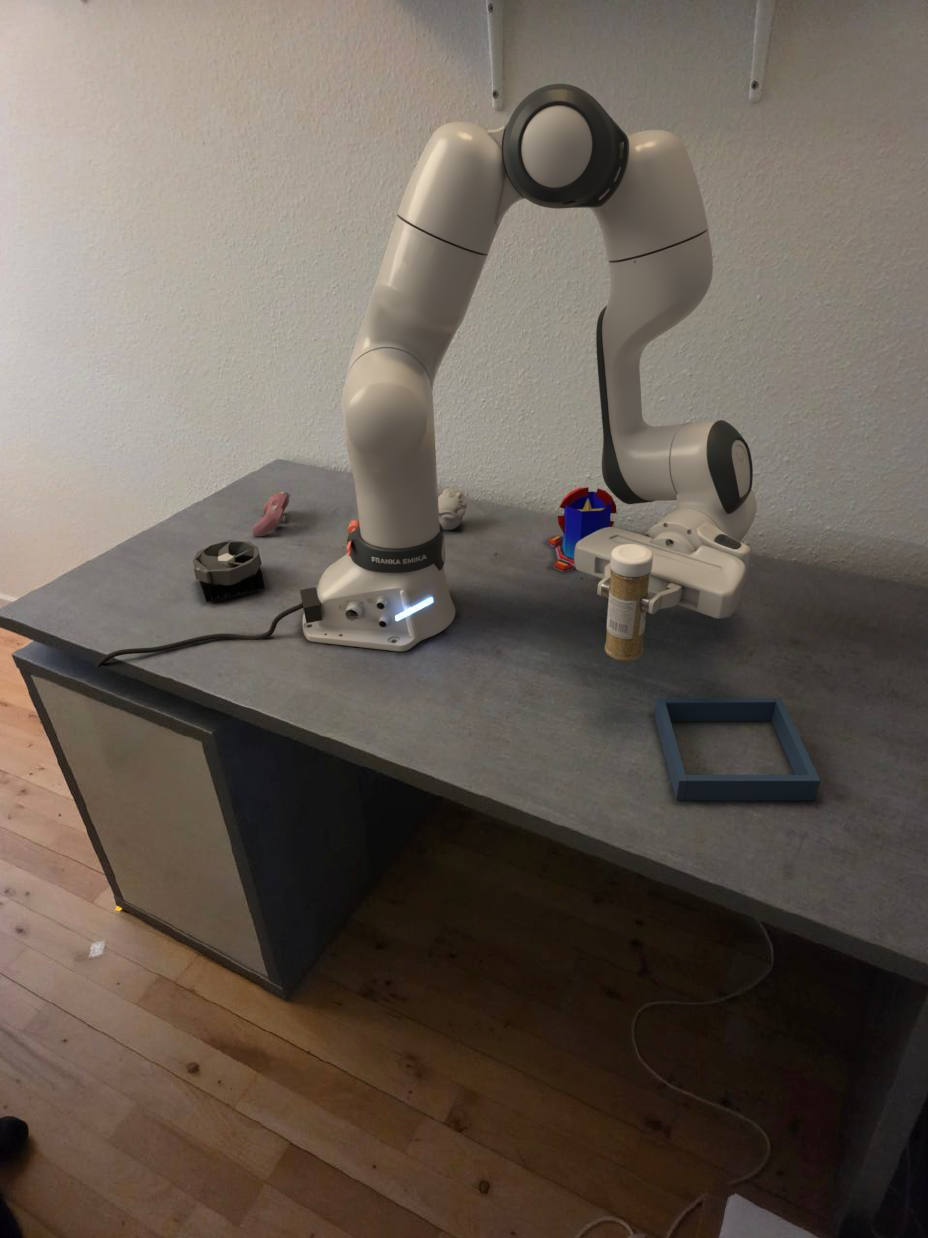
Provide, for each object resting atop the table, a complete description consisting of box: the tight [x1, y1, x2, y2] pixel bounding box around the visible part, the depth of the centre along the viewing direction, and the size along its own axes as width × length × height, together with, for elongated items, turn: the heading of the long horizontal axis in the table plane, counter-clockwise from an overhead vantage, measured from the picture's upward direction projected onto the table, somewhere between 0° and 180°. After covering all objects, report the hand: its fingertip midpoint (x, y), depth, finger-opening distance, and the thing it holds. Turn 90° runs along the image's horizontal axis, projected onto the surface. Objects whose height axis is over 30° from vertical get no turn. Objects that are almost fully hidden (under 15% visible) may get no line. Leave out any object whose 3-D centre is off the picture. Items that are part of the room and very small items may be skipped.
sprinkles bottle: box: [604, 544, 653, 662], centre depth 90 cm, size 5×5×14 cm
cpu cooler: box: [192, 539, 266, 604], centre depth 125 cm, size 10×6×10 cm
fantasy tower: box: [546, 486, 617, 574], centre depth 128 cm, size 12×12×12 cm
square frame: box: [654, 696, 821, 801], centre depth 90 cm, size 15×14×3 cm
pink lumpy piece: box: [251, 490, 291, 537], centre depth 142 cm, size 10×5×7 cm, turn 179°
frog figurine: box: [438, 488, 468, 531], centre depth 139 cm, size 6×7×7 cm
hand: (624, 599), depth 89 cm, fingers closed on sprinkles bottle, 4 cm apart
